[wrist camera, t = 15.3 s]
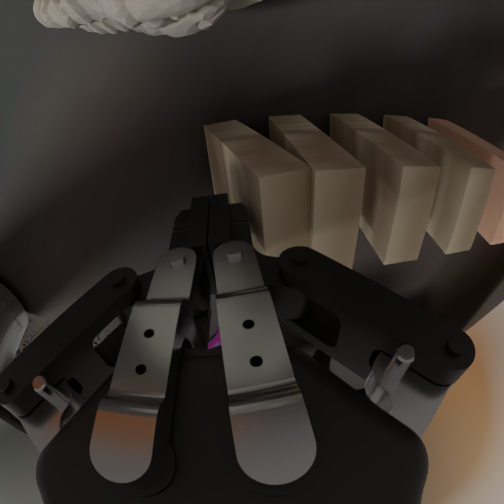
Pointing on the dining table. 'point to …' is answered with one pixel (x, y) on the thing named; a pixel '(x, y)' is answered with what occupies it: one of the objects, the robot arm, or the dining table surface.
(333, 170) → the tile
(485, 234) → the tile
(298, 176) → the tile
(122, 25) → the fossil replica
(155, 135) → the dining table surface
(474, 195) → the tile
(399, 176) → the tile
